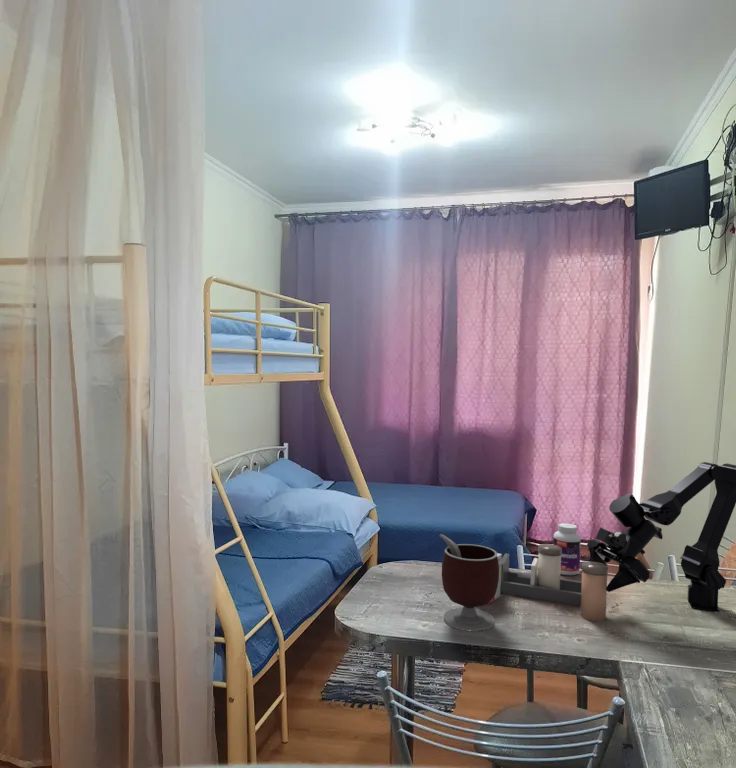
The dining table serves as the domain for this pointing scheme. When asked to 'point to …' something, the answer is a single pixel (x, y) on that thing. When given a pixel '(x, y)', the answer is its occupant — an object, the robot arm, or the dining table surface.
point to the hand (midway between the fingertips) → (595, 584)
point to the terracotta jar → (594, 591)
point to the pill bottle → (568, 548)
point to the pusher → (530, 573)
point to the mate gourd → (469, 583)
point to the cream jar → (549, 566)
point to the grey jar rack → (538, 587)
